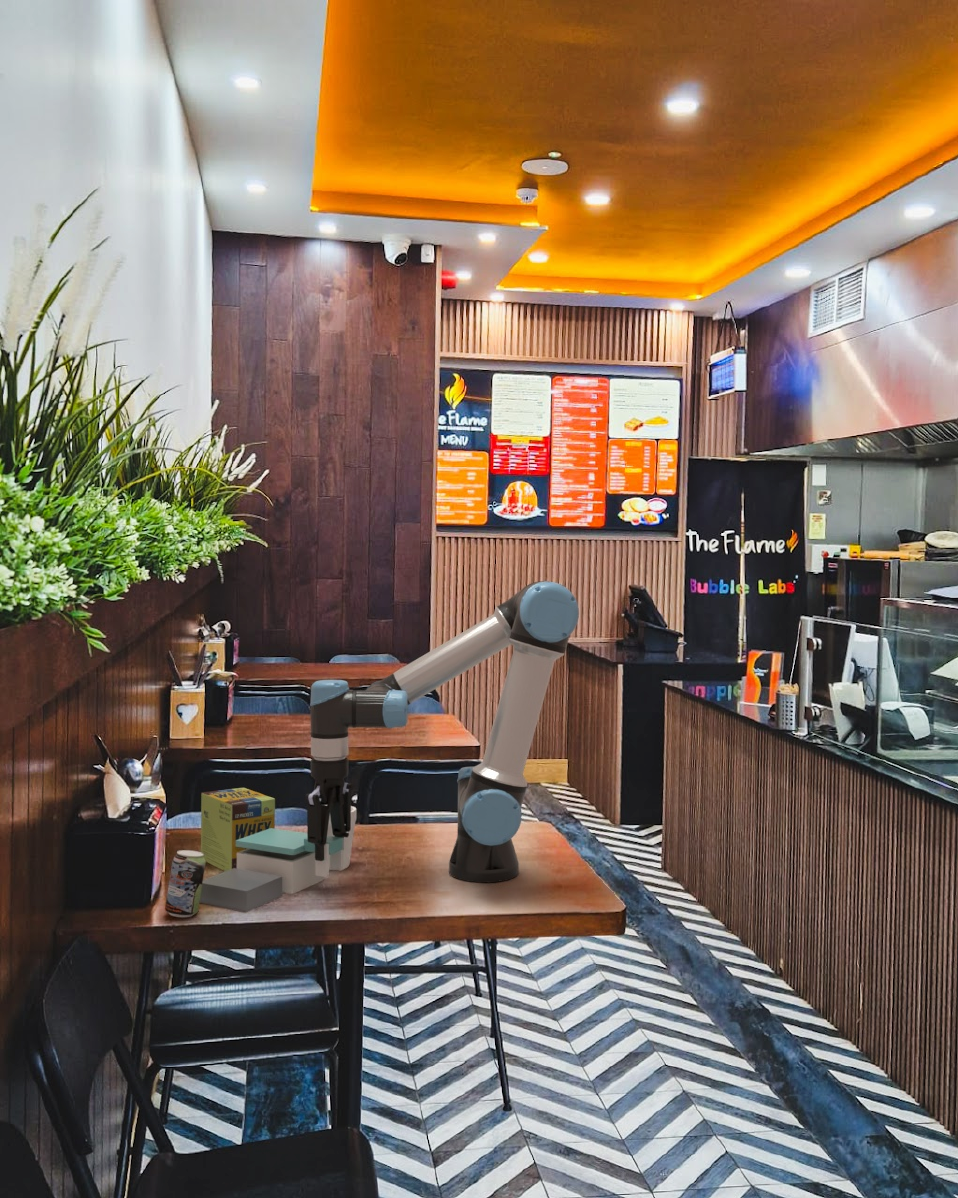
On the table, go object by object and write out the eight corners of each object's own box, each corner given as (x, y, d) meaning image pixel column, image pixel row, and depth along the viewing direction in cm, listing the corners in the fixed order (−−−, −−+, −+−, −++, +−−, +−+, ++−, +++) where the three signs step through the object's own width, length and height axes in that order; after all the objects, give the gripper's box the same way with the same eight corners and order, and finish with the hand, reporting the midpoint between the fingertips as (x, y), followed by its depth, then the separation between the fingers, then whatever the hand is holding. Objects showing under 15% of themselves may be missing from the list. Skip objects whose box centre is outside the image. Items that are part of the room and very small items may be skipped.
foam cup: (347, 876, 225) (347, 815, 224) (306, 873, 227) (306, 813, 226) (361, 864, 234) (361, 805, 234) (321, 861, 236) (321, 803, 236)
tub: (324, 882, 220) (324, 849, 220) (292, 897, 210) (292, 862, 210) (269, 873, 226) (270, 840, 226) (236, 886, 216) (236, 852, 216)
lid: (352, 848, 217) (352, 833, 217) (319, 862, 207) (319, 847, 207) (270, 836, 226) (270, 822, 226) (235, 849, 216) (235, 834, 216)
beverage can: (159, 915, 198) (159, 852, 198) (194, 907, 203) (194, 845, 203) (175, 923, 194) (175, 858, 193) (211, 915, 199) (211, 851, 199)
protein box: (231, 877, 223) (231, 804, 222) (199, 861, 235) (200, 792, 234) (275, 869, 229) (276, 798, 229) (243, 854, 241) (243, 786, 241)
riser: (282, 899, 209) (282, 876, 209) (246, 915, 199) (246, 891, 199) (234, 890, 214) (234, 868, 214) (196, 905, 204) (197, 882, 204)
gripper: (338, 749, 222) (338, 859, 222) (287, 762, 206) (288, 881, 207) (368, 752, 218) (368, 864, 219) (319, 766, 203) (319, 886, 203)
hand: (329, 872), depth 213 cm, fingers closed on lid, 4 cm apart
